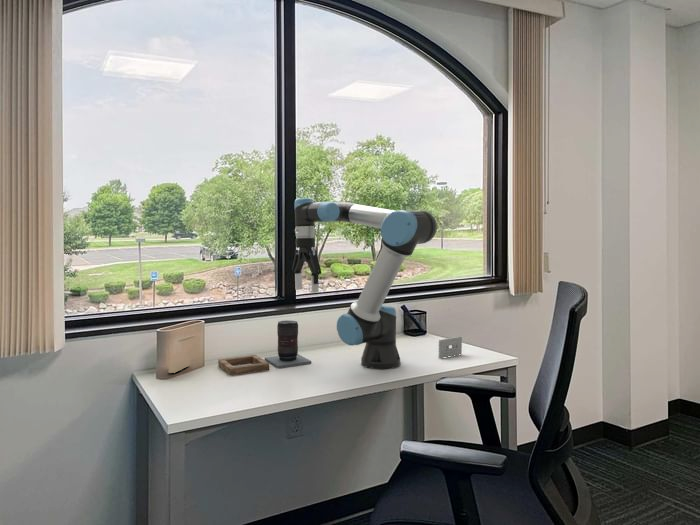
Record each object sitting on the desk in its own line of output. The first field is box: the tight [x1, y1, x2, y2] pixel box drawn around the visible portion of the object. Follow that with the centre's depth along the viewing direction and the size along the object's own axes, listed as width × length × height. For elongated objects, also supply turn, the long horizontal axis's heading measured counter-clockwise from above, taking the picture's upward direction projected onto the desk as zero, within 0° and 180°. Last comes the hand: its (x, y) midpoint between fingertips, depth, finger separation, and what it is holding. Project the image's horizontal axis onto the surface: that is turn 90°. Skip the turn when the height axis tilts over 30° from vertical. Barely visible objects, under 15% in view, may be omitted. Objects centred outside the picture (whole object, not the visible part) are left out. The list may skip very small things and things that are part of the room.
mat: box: [264, 353, 312, 369], centre depth 220 cm, size 14×14×1 cm
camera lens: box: [276, 320, 299, 361], centre depth 219 cm, size 8×8×15 cm
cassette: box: [438, 336, 463, 359], centre depth 228 cm, size 12×2×8 cm, turn 123°
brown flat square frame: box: [217, 354, 270, 376], centre depth 211 cm, size 15×15×2 cm
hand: (306, 291), depth 221 cm, fingers open, 13 cm apart
